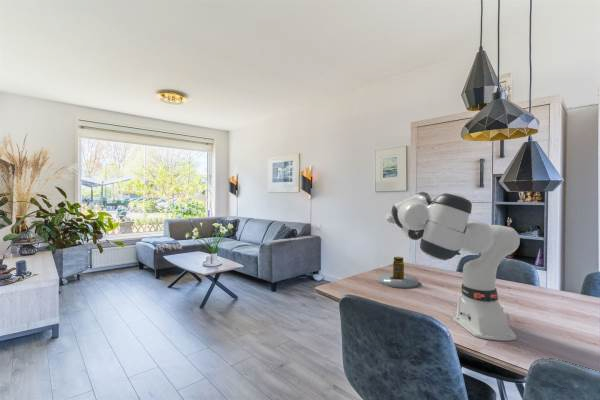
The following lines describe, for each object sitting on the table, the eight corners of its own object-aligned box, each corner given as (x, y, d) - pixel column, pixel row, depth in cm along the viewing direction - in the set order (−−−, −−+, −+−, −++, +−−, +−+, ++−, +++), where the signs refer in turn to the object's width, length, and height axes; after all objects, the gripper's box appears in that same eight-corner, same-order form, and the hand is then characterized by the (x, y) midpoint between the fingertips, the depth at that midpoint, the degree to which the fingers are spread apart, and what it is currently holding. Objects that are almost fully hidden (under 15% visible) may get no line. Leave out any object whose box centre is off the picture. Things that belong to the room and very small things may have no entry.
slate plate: (423, 288, 157) (423, 285, 157) (380, 287, 161) (380, 283, 161) (413, 277, 179) (413, 273, 179) (376, 275, 182) (376, 272, 182)
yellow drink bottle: (406, 277, 171) (406, 257, 171) (400, 281, 165) (400, 259, 164) (394, 275, 176) (394, 255, 175) (388, 278, 169) (388, 258, 169)
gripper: (385, 225, 145) (382, 219, 158) (428, 234, 143) (420, 226, 156) (388, 213, 144) (384, 207, 157) (431, 221, 141) (423, 215, 155)
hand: (403, 217), depth 157 cm, fingers open, 8 cm apart
